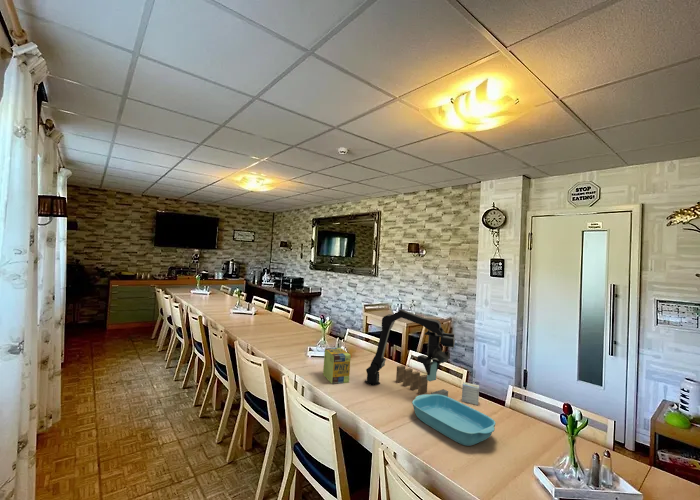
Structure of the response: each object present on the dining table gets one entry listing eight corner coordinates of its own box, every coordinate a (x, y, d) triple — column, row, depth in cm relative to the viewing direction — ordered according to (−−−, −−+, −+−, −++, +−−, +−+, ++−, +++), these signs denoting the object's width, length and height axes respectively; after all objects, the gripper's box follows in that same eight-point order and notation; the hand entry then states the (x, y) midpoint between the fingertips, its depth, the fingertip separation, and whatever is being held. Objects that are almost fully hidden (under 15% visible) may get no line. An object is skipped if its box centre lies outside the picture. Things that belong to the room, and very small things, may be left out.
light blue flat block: (426, 380, 165) (427, 362, 165) (432, 378, 168) (434, 361, 168) (429, 381, 163) (430, 363, 163) (436, 379, 166) (437, 362, 166)
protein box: (331, 384, 172) (333, 356, 173) (322, 374, 186) (324, 348, 187) (349, 382, 177) (351, 354, 177) (339, 372, 191) (340, 347, 191)
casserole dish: (401, 413, 145) (402, 398, 145) (434, 403, 158) (435, 389, 158) (472, 458, 115) (473, 438, 115) (506, 442, 127) (507, 424, 128)
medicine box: (478, 402, 163) (479, 385, 163) (478, 405, 159) (479, 388, 159) (462, 398, 166) (463, 381, 166) (461, 401, 162) (462, 384, 162)
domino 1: (404, 381, 184) (405, 366, 184) (398, 383, 181) (399, 367, 181) (402, 380, 185) (402, 365, 185) (395, 382, 182) (396, 366, 183)
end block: (435, 404, 157) (435, 395, 157) (430, 401, 159) (430, 392, 159) (447, 400, 163) (448, 391, 163) (442, 397, 165) (443, 389, 165)
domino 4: (426, 392, 170) (427, 375, 171) (420, 394, 167) (421, 377, 168) (424, 391, 172) (425, 374, 172) (417, 392, 169) (418, 376, 169)
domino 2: (411, 385, 179) (412, 369, 179) (405, 386, 176) (406, 370, 176) (409, 383, 181) (409, 368, 181) (402, 385, 178) (403, 369, 178)
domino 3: (419, 388, 175) (420, 372, 175) (412, 390, 172) (413, 373, 172) (416, 387, 176) (417, 371, 177) (410, 389, 173) (411, 372, 174)
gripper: (434, 350, 154) (432, 382, 154) (457, 346, 165) (455, 376, 165) (417, 344, 163) (415, 375, 163) (440, 341, 174) (438, 369, 174)
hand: (431, 374), depth 166 cm, fingers closed on light blue flat block, 5 cm apart
